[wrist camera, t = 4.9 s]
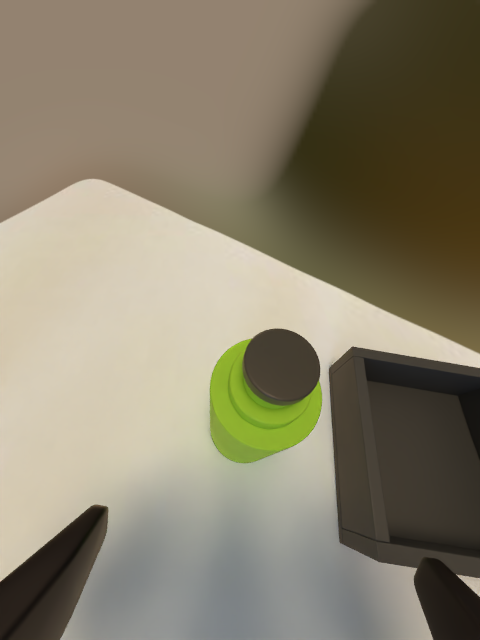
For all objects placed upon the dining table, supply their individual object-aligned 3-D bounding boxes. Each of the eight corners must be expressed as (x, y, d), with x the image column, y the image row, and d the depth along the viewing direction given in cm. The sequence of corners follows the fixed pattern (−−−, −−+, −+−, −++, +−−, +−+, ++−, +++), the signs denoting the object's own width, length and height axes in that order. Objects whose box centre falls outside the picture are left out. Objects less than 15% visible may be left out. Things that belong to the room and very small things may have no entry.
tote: (521, 571, 16) (615, 600, 12) (339, 542, 16) (378, 562, 12) (458, 390, 23) (507, 372, 19) (328, 368, 23) (352, 346, 19)
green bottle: (289, 436, 19) (384, 386, 9) (232, 479, 17) (265, 480, 7) (252, 380, 21) (293, 285, 11) (198, 412, 20) (184, 336, 9)
